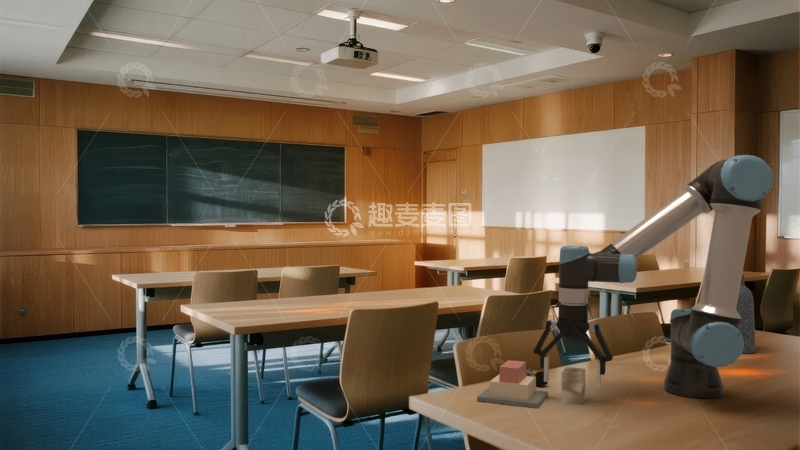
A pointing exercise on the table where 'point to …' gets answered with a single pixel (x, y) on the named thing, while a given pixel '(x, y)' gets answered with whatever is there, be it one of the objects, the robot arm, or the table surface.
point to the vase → (746, 318)
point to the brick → (573, 385)
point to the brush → (537, 376)
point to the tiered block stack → (513, 387)
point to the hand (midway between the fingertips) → (572, 383)
